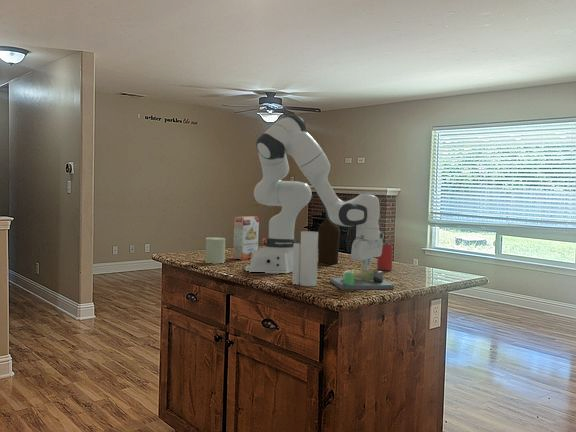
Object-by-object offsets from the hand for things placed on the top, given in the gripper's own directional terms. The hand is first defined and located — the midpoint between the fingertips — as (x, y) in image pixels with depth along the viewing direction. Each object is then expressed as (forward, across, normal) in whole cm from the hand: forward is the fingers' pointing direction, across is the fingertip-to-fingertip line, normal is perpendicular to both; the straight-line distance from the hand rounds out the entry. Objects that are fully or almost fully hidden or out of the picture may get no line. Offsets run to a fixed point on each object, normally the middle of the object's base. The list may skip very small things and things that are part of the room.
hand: (366, 269), depth 213 cm
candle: (+5, -20, +16) cm, 27 cm away
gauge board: (+5, -8, -2) cm, 9 cm away
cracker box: (+5, +16, +74) cm, 76 cm away
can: (+5, -5, +75) cm, 76 cm away
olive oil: (+5, +32, +36) cm, 49 cm away
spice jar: (+3, -5, -3) cm, 6 cm away
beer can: (+5, +33, +7) cm, 35 cm away
